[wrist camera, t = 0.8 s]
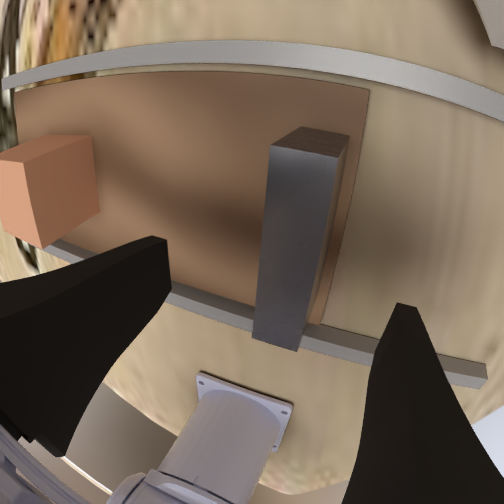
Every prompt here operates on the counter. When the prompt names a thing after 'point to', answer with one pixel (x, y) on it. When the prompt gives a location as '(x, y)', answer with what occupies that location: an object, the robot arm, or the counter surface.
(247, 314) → the lane rails
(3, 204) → the cube
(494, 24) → the die
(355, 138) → the large flat tan board
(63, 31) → the counter surface
